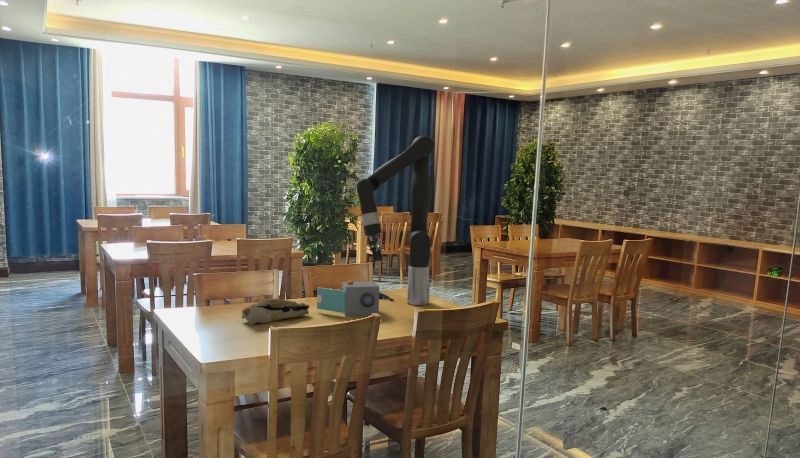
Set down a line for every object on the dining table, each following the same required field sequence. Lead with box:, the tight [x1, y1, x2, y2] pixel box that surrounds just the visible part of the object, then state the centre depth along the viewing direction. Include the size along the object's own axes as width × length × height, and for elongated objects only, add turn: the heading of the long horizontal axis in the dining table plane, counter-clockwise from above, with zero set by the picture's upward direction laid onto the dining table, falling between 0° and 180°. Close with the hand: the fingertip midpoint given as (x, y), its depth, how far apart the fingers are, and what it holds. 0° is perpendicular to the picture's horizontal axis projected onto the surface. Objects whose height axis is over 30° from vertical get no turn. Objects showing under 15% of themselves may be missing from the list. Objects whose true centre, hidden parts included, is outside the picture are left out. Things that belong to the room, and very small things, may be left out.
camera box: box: [341, 280, 380, 317], centre depth 229 cm, size 14×12×13 cm
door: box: [316, 287, 345, 314], centre depth 225 cm, size 2×13×9 cm, turn 65°
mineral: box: [240, 298, 311, 326], centre depth 216 cm, size 26×9×10 cm
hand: (378, 260), depth 238 cm, fingers open, 8 cm apart
